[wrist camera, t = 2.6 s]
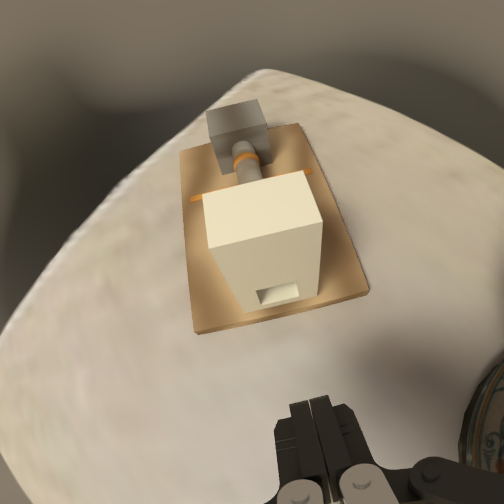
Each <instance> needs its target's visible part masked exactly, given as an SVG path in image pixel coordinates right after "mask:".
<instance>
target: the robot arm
mask: <svg viewBox="0 0 504 504" xmlns="http://www.w3.org/2000/svg"><path fill="white" fill-rule="evenodd" d="M309 401H310V407H311V410H310V407H309V403H308V400H305V401H301V402H297V403H293V404H289V406H290V412H291V417H290V418H285V419H281V420H278V422H277V424H276V427H275V429H274V437H275V445H276V454H277V463H278V471H279V480H280V486H279V490H278V492H277V494H276V495H275V496H274V497H273V498H272V499H271V500H270V501H268V502H267V503H264V504H330V503H331V497H330V491H331V495H332V499H333V503H334V502H338V501H339V502H340V504H504V474H499V473H495V472H491V471H487V470H483V469H479V468H475V467H472V466H468V465H464V464H461V463H457V462H454V461H451V460H447V459H444V458H441V457H427V458H424V459H422V460H420V461H419V462H417V463H416V464H415V465H414V467H413V468H408V469H399V470H389V469H385V468H382V467H380V466H379V465H378V464H376V462H375V461H374V460H373V457H372V455H371V453H370V450H369V448H368V445H367V443H366V440H365V438H364V436H363V433H362V431H361V428H360V426H359V423H358V422H357V419H356V416H355V414H354V412H353V410H352V409H350V408H349V407H348V406H347V405H345V404H341V405H337V406H334V407H332V405H331V402H330V399H329V396H328V395H325V396H321V397H317V398H313V399H309ZM311 412H312V414H311ZM312 417H313V418H312ZM328 483H329V484H328ZM329 487H330V491H329Z"/></svg>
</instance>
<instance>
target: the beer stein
mask: <svg viewBox="0 0 504 504" xmlns="http://www.w3.org/2000/svg"><path fill="white" fill-rule="evenodd" d="M458 451H459V463H461V464H464V465H468V466H472V467H475V468H479V469H483V470H487V471H491V472H495V473H499V474H504V360H503V361H502V362H501V363H499V364H498V365H496V366H495V367H494V368H493V369H492V370H491V371H490V373H489V374H488V375H487V376H486V377H485V379H484V380H483V381H482V382H481V383H480V384H479V385H478V387H477V390H476V392H475V394H474V396H473V398H472V400H471V402H470V404H469V406H468V408H467V410H466V412H465V414H464V419H463V424H462V429H461V434H460V438H459V442H458Z"/></svg>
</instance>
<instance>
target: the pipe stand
mask: <svg viewBox="0 0 504 504" xmlns="http://www.w3.org/2000/svg"><path fill="white" fill-rule="evenodd" d="M206 116H207V124H208V130H209V137H210V140H211V143H208V144H204V145H201V146H197V147H193V148H190V149H186V150H183V151H180V170H181V190H182V207H183V222H184V236H185V248H186V260H187V271H188V281H189V291H190V300H191V309H192V318H193V327H194V332H195V333H196V334H198V335H200V334H206V333H211V332H216V331H221V330H226V329H230V328H235V327H240V326H244V325H249V324H254V323H258V322H262V321H267V320H271V319H276V318H280V317H284V316H288V315H292V314H296V313H300V312H305V311H308V310H312V309H316V308H320V307H324V306H328V305H332V304H335V303H339V302H343V301H347V300H350V299H354V298H357V297H361V296H364V295H367V294H368V292H369V287H368V285H367V282H366V279H365V276H364V274H363V271H362V268H361V265H360V263H359V260H358V257H357V255H356V252H355V250H354V247H353V244H352V242H351V239H350V237H349V234H348V232H347V229H346V227H345V224H344V222H343V219H342V217H341V215H340V212H339V210H338V207H337V205H336V203H335V200H334V198H333V196H332V193H331V191H330V189H329V187H328V184H327V182H326V180H325V178H324V175H323V173H322V171H321V169H320V167H319V164H318V162H317V160H316V158H315V156H314V154H313V152H312V149H311V147H310V145H309V143H308V141H307V139H306V137H305V135H304V133H303V131H302V129H301V127H300V125H299V123H295V124H290V125H285V126H280V127H275V128H270V129H267V123H266V121H265V118H264V116H263V113H262V110H261V108H260V105H259V103H258V100H257V99H255V100H251V101H246V102H242V103H238V104H233V105H229V106H225V107H221V108H217V109H213V110H210V111H206ZM302 170H303V172H304V174H305V177H306V179H307V182H308V184H309V187H310V189H311V192H312V195H313V197H314V200H315V202H316V205H317V207H318V210H319V213H320V215H321V218H322V221H323V227H322V242H321V256H320V269H319V281H318V292H317V296H315V297H311V298H307V299H303V300H299V301H295V302H291V303H287V304H283V305H279V306H274V307H270V308H266V309H261V310H257V311H253V312H248V313H244V312H243V310H242V308H241V307H240V305H239V303H238V301H237V300H236V298H235V296H234V294H233V292H232V291H231V289H230V287H229V285H228V283H227V282H226V280H225V278H224V276H223V274H222V272H221V271H220V269H219V267H218V265H217V263H216V261H215V260H214V258H213V256H212V254H211V252H210V250H209V248H208V240H207V232H206V224H205V216H204V207H203V198H202V194H206V193H210V192H213V191H217V190H221V189H225V188H229V187H233V186H237V185H241V184H245V183H249V182H253V181H258V180H262V179H266V178H271V177H275V176H279V175H284V174H288V173H293V172H298V171H302Z"/></svg>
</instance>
